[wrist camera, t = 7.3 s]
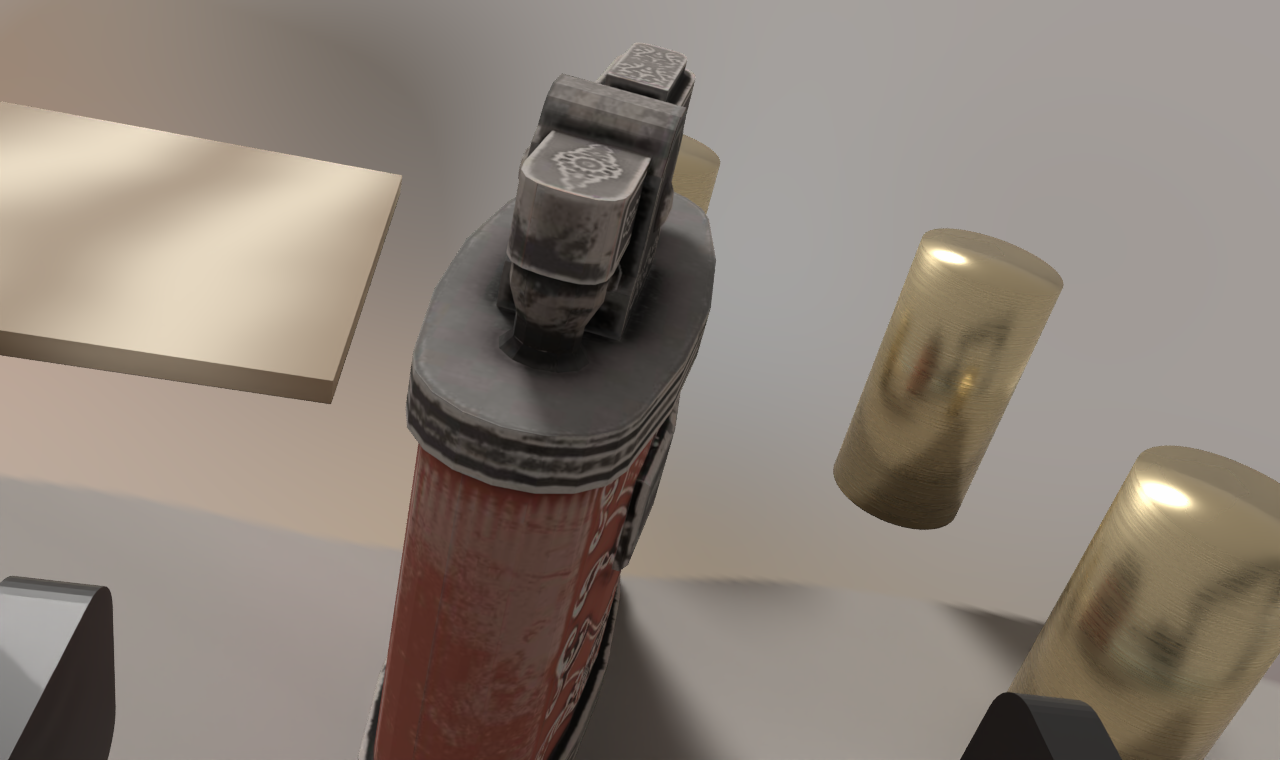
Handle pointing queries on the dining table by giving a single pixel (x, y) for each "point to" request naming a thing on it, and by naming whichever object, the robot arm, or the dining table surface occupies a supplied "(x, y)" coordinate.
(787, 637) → the dining table surface
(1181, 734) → the spacer posts
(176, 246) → the pad
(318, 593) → the dining table surface
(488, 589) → the lighter
